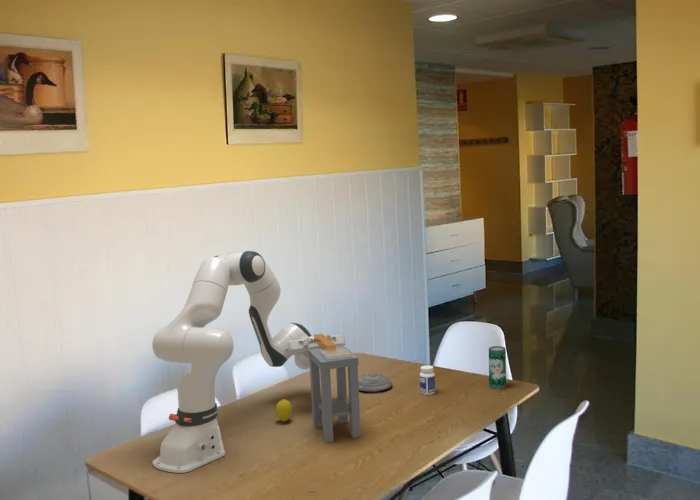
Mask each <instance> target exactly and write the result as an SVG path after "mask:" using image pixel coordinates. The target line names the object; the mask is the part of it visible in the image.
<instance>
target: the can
mask: <svg viewBox="0 0 700 500" xmlns="http://www.w3.org/2000/svg"><path fill="white" fill-rule="evenodd" d="M506 353H507V349H506V347H504V346H501V345H493V346H490V347H488V386H489V387H488V388H489V389H492V390H498V391H499V390H505V389H506V388H507V363H506V362H507V354H506Z"/></svg>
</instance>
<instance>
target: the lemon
mask: <svg viewBox="0 0 700 500" xmlns="http://www.w3.org/2000/svg"><path fill="white" fill-rule="evenodd" d="M275 414H276V417H277V419H279V420H280V421H282V422H283V423H285V422H286V421H288V420H289V419H291V417H292V414H293V407H292V404H291V402H290V401H289V400H288V399H285V398H282V399H280V400H279V401H278V402H277V404H276V407H275Z"/></svg>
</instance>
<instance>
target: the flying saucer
mask: <svg viewBox="0 0 700 500" xmlns="http://www.w3.org/2000/svg"><path fill="white" fill-rule="evenodd" d="M392 386H393V382H392V380H391V379H389V378H388V377H387V376H385V375H382V374H378V373H369V374H365V375H362V376H360V377H358V387H359V391H362V392H368V393H370V392H372V393H373V392H374V393H375V392H380V391H385V390H388V389H389V388H391V387H392Z"/></svg>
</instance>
